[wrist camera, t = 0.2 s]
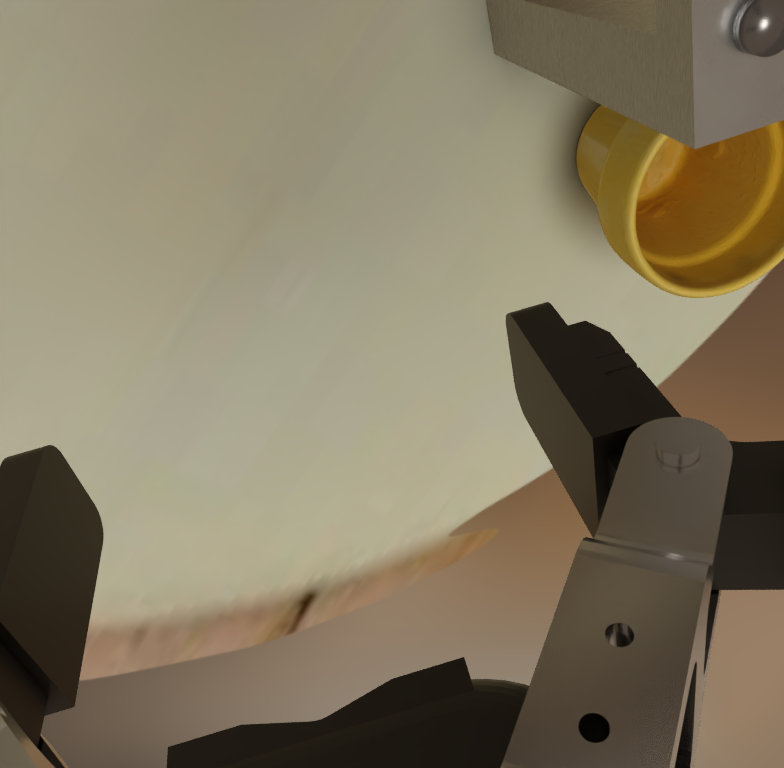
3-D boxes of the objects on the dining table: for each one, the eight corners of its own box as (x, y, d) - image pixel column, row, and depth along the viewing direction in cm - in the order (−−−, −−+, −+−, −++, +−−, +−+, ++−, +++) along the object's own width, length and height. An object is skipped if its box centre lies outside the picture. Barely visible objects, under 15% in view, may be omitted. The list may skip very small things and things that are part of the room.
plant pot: (742, 54, 41) (874, 87, 33) (684, 234, 46) (785, 301, 38) (568, 37, 38) (664, 68, 30) (528, 229, 44) (601, 299, 36)
